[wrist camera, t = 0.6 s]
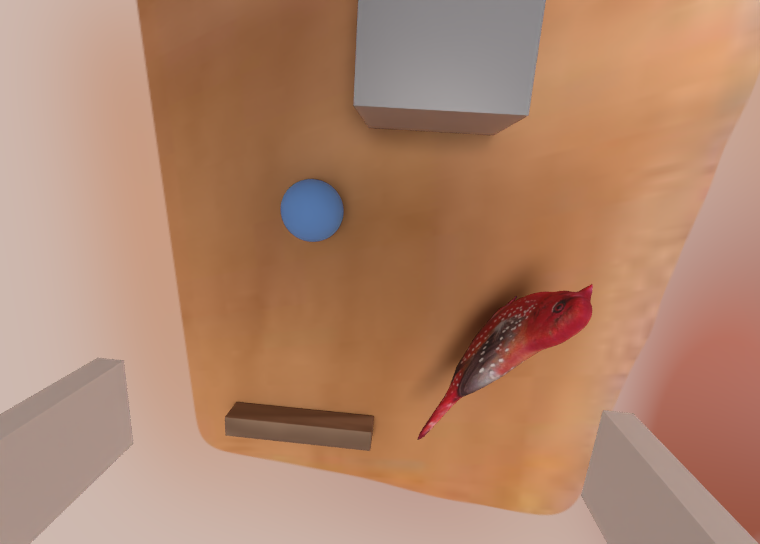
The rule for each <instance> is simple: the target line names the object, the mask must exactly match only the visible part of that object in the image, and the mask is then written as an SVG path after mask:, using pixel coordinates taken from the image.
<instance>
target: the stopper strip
mask: <svg viewBox="0 0 760 544" xmlns="http://www.w3.org/2000/svg"><path fill="white" fill-rule="evenodd" d="M373 420H374V416H369V415H359V414H349V413H339V412H329V411H320V410H310V409H300V408H290V407H280V406H271V405H261V404H251V403H241V402H236V404H235V405H234V406H233V407H232V409H231V410H230V411H229V413H228V414H227V415H226V416H225V432H226V435H227V436H236V437H245V438H255V439H264V440H273V441H283V442H292V443H301V444H311V445H320V446H329V447H339V448H348V449H357V450H367V451H370V448H371V441H372V434H373Z"/></svg>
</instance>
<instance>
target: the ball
mask: <svg viewBox="0 0 760 544" xmlns="http://www.w3.org/2000/svg"><path fill="white" fill-rule="evenodd" d="M343 213H344V210H343V203H342V200H341V198H340V196H339V194H338V193H337V191H336V190H335V189H334V188H333V187H332V186H331V185H329V184H328V183H326V182H323V181H321V180H317V179H306V180H302V181H299V182H297V183H295V184H293V185H292V186H291V187H290V188H289V189H288V190H287V191H286V193H285V194H284V196H283V199H282V202H281V217H282V220H283V222H284V225H285V226H286V228H287V229H288V230H289V231H290V232H291V233H292V234H293V235H294V236H295V237H297V238H299V239H301V240H304V241H310V242H317V241H322V240H324V239H327V238H329V237H330V236H332V235H333V234H334V233H335V232H336V231H337V230H338V228H339V227H340V225H341V222H342V219H343Z"/></svg>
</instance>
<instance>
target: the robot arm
mask: <svg viewBox="0 0 760 544" xmlns="http://www.w3.org/2000/svg"><path fill="white" fill-rule="evenodd" d="M132 444H133V437H132V428H131V419H130V410H129V402H128V394H127V384H126V376H125V367H124V361H123V360H114V359H104V358H97V359H95V360H93V361H92V362H90V363H88V364H86V365H84V366H83V367H81V368H79V369H78V370H76V371H74V372H72V373H71V374H69V375H67V376H66V377H64V378H62V379H60V380H59V381H57V382H55V383H53V384H52V385H50V386H48V387H47V388H45V389H43V390H41V391H40V392H38V393H36V394H34V395H33V396H31V397H29V398H27V399H26V400H24V401H22V402H21V403H19V404H17V405H15V406H14V407H12V408H10V409H9V410H7V411H5V412H3V413H2V414H0V544H30V543H31V542H32V541H33V540H34V539H35V538H36V537H37V536H38V535H39V534H41V532H43V531H44V530H45V528H47V527H48V526H49V525H50V524H51V523H52V522H53V521H54V520H55V519H56V518H57V517H58V516H59V515H60V514H61V513H62V512H63V511H64V510H65V509H66V508H67V507H68V506H69V505H70V504H71V503H72V502H74V501H75V500H76V499H77V498H78V497H79V496H80V495H81V494H82V493H83V492H84V491H85V490H86V489H87V488H88V487H89V486H90V485H91V484H92V483H93V482H94V481H95V480H96V479H97V478H98V477H99V476H100V475H101V474H103V473H104V472H105V471H106V470H107V469H108V467H110V466H111V465H112V464H113V463H114V462H115V461H116V460H117V459H118V458H119V457H120V456H121V455H122V454H123V453H124V452H125V451H126V450H127V449H128V448H129V447H130V446H131V445H132ZM581 496H582V498H583V500H584V502H585V504H586V505H587V507H588V509H589V511H590V513H591V514H592V516H593V518H594V520H595V522H596V523H597V525H598V527H599V529H600V531H601V533H602V534H603V536H604V538H605V540H606V542H607V544H758V543H757V542H756V541H755V540H754V538H753V537H751V536H750V535H749V534H748V532H747V531H746V530H745V529H744V528H743V527H742V526H741V525H740V524H739V523H738V522H737V521H736V520H735V519H734V518H733V517H732V516H731V515H730V514H729V513H728V511H726V509H725V508H724V507H723V506H722V505H721V504H720V503H719V502H718V501H717V500H716V499H715V498H714V497H713V496H712V495H711V494H710V493H709V492H708V491H707V490H706V489H705V488H704V487H703V486H702V484H700V482H698V480H697V479H696V478H695V477H694V476H693V475H692V474H691V473H690V472H689V471H688V470H687V469H686V468H685V467H684V466H683V465H682V464H681V463H680V462H679V461H678V459H677V458H675V456H674V455H673V454H672V453H671V452H670V451H669V450H668V449H667V448H666V447H665V446H664V445H663V444H662V443H661V442H660V441H659V440H658V439H657V438H656V437H655V436H654V435H653V434H652V432H651V431H649V429H648V428H647V427H646V426H645V425H644V424H643V423H642V422H641V421H640V420H639V419H638V418H637V417H636V416H635V415H634V414H633V413H625V412H615V411H606V410H603V412H602V416H601V420H600V424H599V428H598V432H597V436H596V440H595V443H594V447H593V451H592V455H591V459H590V463H589V467H588V471H587V475H586V478H585V482H584V486H583V490H582V494H581Z"/></svg>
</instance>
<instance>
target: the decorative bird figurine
mask: <svg viewBox="0 0 760 544" xmlns="http://www.w3.org/2000/svg"><path fill="white" fill-rule="evenodd" d="M592 287H593V286H592V284H591V285H590V286H587V287H586V288H584V289H582V290H580V291H578V292H570V291H558V292H538V293H533V294H530V295H527V296H525V297H522V298H520V299H518V300H516V301H514V300H515V299H516V297H517V296H516V297H515V298H514V299H512V300H511V301H510V302H509V303H508V304H507V305H506V306H504V307H502V308H500V309H499V310H498V311H497V312H496V313H495V314H494V315H493V316H492V318H491V319H490V320H489V321H488V322H487V323H486V324H485V325H484V327H483V328H482V329H481V330H480V331H479V332H478V334H477V335H476V336H475V338H474V339H473V341H472V343H471V344H470V346H469V348H468V349H467V351H466V353H465V354H464V356H463V357H462V359H461V360H460V362H459V364H458V365H457V367H456V370H455V373H454V376H453V379H452V381H451V384H450V387H449V389H448V391H447V393H446V394H445V396H444V398H443V400H442V401H441V402H440V404H439V405H438V407H437V408H436V410H435V411H434V412H433V414H432V416H431V417H430V418H429V420H428V421H427V423H426V425H425V426H424V427H423V429H422V431H421V432H420V434H419V437H418V440H419V439H421V438H422V437H424V436H425V435H426V434H427V433H428V432H429V431H430V430H431V429H432V428H433V426H434V425H435V424H436V423H437V422H438V421H439V420H440V419H441V418H442V417H443V415H444V414H445V413H446V412H447V411H448V410H449V409H450V408H451V407H452V406H453V405H454V404H455V403H456V402H457V401H458V400H459V399H460V398H461V397H463V396H466V395H468V394H471V393H473V392H475V391H477V390H479V389H481V388H483V387H485V386H487V385H488V384H490V383H492V382H493V381H495V380H497V379H499V378H500V377H502V376H503V375H505V374H506V373H508V372H509V371H511V370H512V369H514V368H515V367H516V366H518V365H519V364H521V363H522V362H523V361H525V360H526V359H528V358H530V357H531V356H533V355H534V354H536V353H538V352H539V351H541V350H543V349H546V348H549V347H552V346H556V345H558V344H561V343H563V342H565V341H566V340H568V339H569V338H571V337H572V336H574V335H576V334H577V333H578V332H580V331H581V330H582V329H583V328H584V327H585V326H586V325H587V323H588V322H589V320H590V318H591V315H592V305H591V303H590V299H591V295H592Z"/></svg>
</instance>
